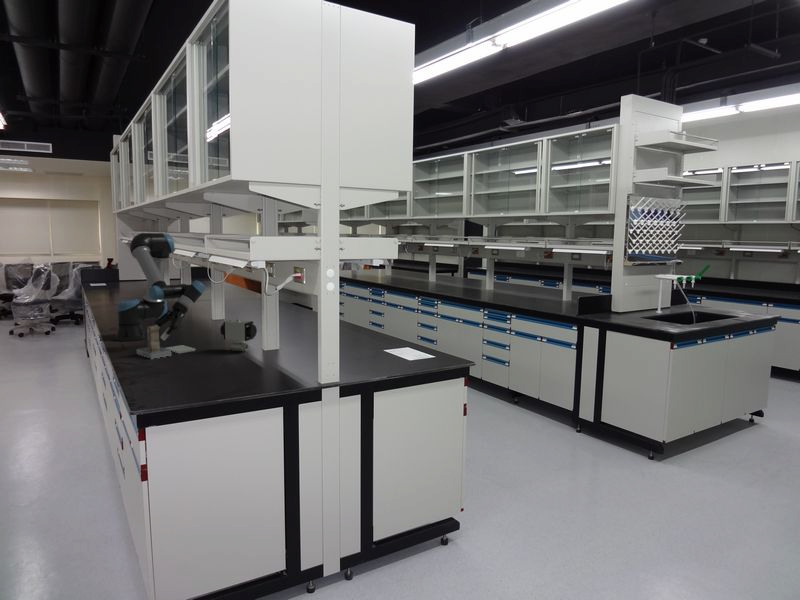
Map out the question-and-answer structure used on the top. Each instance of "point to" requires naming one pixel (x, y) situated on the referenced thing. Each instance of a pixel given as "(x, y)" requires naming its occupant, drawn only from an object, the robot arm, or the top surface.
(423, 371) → the top surface
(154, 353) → the socket block
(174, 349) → the pad
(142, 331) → the robot arm
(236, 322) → the bench grinder
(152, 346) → the peg
